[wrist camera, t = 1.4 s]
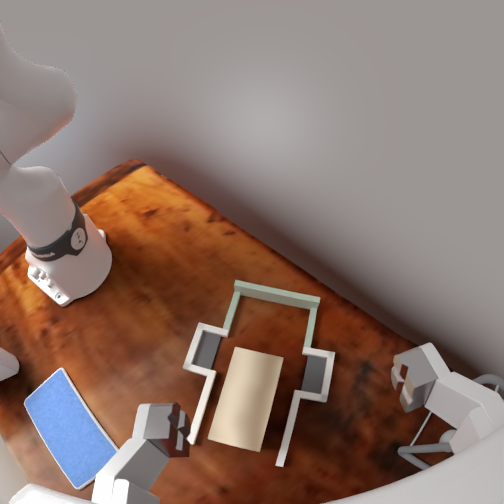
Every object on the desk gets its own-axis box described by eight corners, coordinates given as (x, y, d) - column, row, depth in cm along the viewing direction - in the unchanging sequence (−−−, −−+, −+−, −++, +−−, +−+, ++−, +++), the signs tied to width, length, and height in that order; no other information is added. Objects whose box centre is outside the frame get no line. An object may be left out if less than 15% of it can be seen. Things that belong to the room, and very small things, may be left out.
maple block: (217, 438, 36) (207, 438, 28) (239, 365, 43) (235, 346, 35) (258, 448, 35) (259, 452, 27) (277, 374, 42) (283, 357, 34)
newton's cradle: (391, 451, 33) (459, 447, 19) (424, 398, 38) (492, 368, 24) (490, 507, 22) (556, 505, 7) (514, 460, 26) (579, 445, 12)
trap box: (162, 433, 36) (156, 432, 34) (214, 283, 52) (212, 274, 49) (309, 470, 33) (313, 472, 31) (339, 309, 48) (344, 302, 46)
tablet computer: (126, 456, 34) (123, 456, 33) (80, 491, 29) (75, 492, 28) (65, 367, 42) (61, 365, 41) (25, 402, 36) (21, 401, 35)
